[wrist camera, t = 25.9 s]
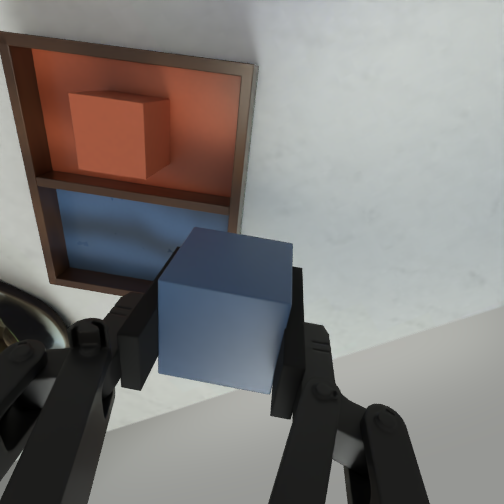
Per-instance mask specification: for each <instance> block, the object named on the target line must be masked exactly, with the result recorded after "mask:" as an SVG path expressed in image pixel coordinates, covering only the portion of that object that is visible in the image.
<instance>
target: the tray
mask: <svg viewBox="0 0 504 504" xmlns="http://www.w3.org/2000/svg"><path fill="white" fill-rule="evenodd" d="M0 55H1V59H2V64H3V69H4V73H5V78H6V83H7V87H8V92H9V97H10V101H11V106H12V110H13V115H14V120H15V124H16V129H17V134H18V138H19V143H20V148H21V152H22V157H23V161H24V166H25V171H26V175H27V180H28V185H29V189H30V194H31V199H32V203H33V208H34V213H35V217H36V222H37V226H38V231H39V236H40V240H41V245H42V250H43V254H44V259H45V264H46V268H47V273H48V277H49V282H50V284H55V285H61V286H66V287H72V288H78V289H84V290H90V291H96V292H101V293H107V294H113V295H119V296H124V295H126V294H128V293H129V292H136V293H142V294H145V292H146V291H147V289H148V288H149V286H150V285H151V283H152V282H153V281H154V279H155V278H156V276H157V275H158V273H159V272H160V271H161V269H162V268H163V266H164V265H165V263H166V262H167V261H168V259H169V258H170V256H171V255H172V253H173V252H174V251H175V249H176V248H177V246H178V247H181V246H182V244H183V243H184V241H185V240H186V238H187V237H188V235H189V234H190V232H191V231H192V229H193V228H194V227H200V228H206V229H212V230H218V231H223V232H229V233H235V234H240V233H241V223H242V214H243V205H244V196H245V187H246V178H247V169H248V160H249V151H250V141H251V132H252V123H253V114H254V105H255V96H256V87H257V78H258V69H259V66H257V65H254V64H249V63H241V62H233V61H226V60H218V59H210V58H203V57H195V56H188V55H180V54H172V53H165V52H157V51H149V50H142V49H134V48H126V47H119V46H111V45H103V44H96V43H88V42H81V41H73V40H65V39H58V38H50V37H42V36H35V35H27V34H19V33H12V32H4V31H0ZM105 90H109V91H116V92H123V93H131V94H138V95H145V96H152V97H160V98H167V99H170V164H169V165H167V166H166V167H164V168H163V169H161V170H160V171H158V172H157V173H155V174H154V175H152V176H151V177H149V178H148V179H146V180H145V179H139V178H132V177H125V176H119V175H112V174H106V173H99V172H93V171H86V170H80V169H79V167H78V160H77V153H76V146H75V138H74V131H73V124H72V116H71V109H70V102H69V95H68V93H69V92H87V91H105Z"/></svg>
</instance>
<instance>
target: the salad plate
mask: <svg viewBox="0 0 504 504" xmlns="http://www.w3.org/2000/svg"><path fill="white" fill-rule="evenodd" d="M28 339H29V340H38V341H40V342H42V343H43V344H44V346H45V349H46V350H47V349H62V348H69V347H70V346H69V340H68V335H67V327H66V325H65V323H64V322H63V320H62V319H61V318H60V316H59V315H58V314H57V313H56V312H55V311H54V310H53V309H52V308H51V307H49V306H48V305H47V304H45V303H44V302H42V301H40V300H38V299H36V298H34V297H32V296H31V295H29V294H27V293H25V292H23V291H21V290H19V289H17V288H15V287H13V286H11V285H9V284H6V283H4V282H1V281H0V353H1V352H2V351H3V350H4V349H6V348H7V347H8V346H10V345H11V344H14V343H16V342H18V341H23V340H28Z"/></svg>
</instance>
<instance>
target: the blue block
mask: <svg viewBox="0 0 504 504" xmlns="http://www.w3.org/2000/svg"><path fill="white" fill-rule="evenodd" d="M292 262H293V244H292V243H287V242H281V241H275V240H270V239H264V238H258V237H252V236H246V235H241V234H235V233H229V232H223V231H218V230H212V229H206V228H200V227H194V228H193V229H192V231H191V232H190V234H189V235H188V237H187V238H186V240H185V241H184V243H183V244H182V246H181V247H180V248H179V250H178V251H177V253H176V254H175V256H174V257H173V259H172V260H171V262H170V263H169V265H168V266H167V267H166V269H165V270H164V272H163V273H162V275H161V276H160V278H159V279H158V373H160V374H165V375H170V376H175V377H180V378H185V379H191V380H196V381H201V382H206V383H211V384H217V385H222V386H227V387H232V388H237V389H243V390H248V391H254V392H258V393H263V394H270V393H271V388H272V384H273V376H274V372H275V368H276V364H277V359H278V355H279V351H280V347H281V343H282V338H283V334H284V330H285V329H286V327H287V322H288V318H289V314H290V310H291V306H292Z"/></svg>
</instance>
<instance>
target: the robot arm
mask: <svg viewBox="0 0 504 504" xmlns="http://www.w3.org/2000/svg"><path fill="white" fill-rule="evenodd" d="M179 248H180V247H178V246H177V248H176V249H175V251H174V252H173V253H172V255H171V256H170V258H169V259H168V261H167V262H166V263H165V265H164V266H163V268H162V269H161V271H160V272H159V273H158V275H157V276H156V278H155V279H154V281H153V282H152V283H151V285H150V286H149V288H148V289H147V291H146V292H145V294H142V293H136V292H129V293H128V294H126V295H124V296H123V297H121V298H120V299H119V301H118V302H117V303H116V304H115V307H113V308H112V309H111V311H110V313H108V314H107V316H106V317H105V318H104V319H103V320H101V319H97V318H88V319H83V320H80V321H77V322H76V323H74V324H73V325H71V326H70V327H69V328H68V330H67V335H68V340H69V346H70V347H69V348H62V349H47V350H46V349H45V346H44V344H43V343H42V342H40V341H38V340H29V339H28V340H23V341H18V342H16V343H14V344H11V345H10V346H8V347H7V348H6V349H4V350H3V351H2V352H1V353H0V481H1V479H2V478H3V477H4V475H5V474H6V473H7V471H8V470H9V468H10V467H11V466H12V464H13V463H14V462H15V460H16V459H17V457H18V456H19V455H20V453H21V452H22V450H23V449H24V450H23V452H22V454H21V456H20V458H19V460H18V463H17V465H16V467H15V469H14V471H13V474H12V476H11V478H10V480H9V482H8V484H7V487H6V489H5V491H4V493H3V495H2V498H1V500H0V504H87V503H88V500H89V496H90V492H91V488H92V484H93V480H94V476H95V472H96V468H97V465H98V461H99V457H100V453H101V449H102V445H103V441H104V437H105V433H106V430H107V426H108V422H109V418H110V414H111V410H112V406H113V403H114V399H115V386H116V384H117V383H118V381H119V379H120V378H121V387H123V388H129V389H134V390H139V391H141V389H142V387H143V385H144V383H145V381H146V379H147V377H148V375H149V373H150V371H151V369H152V367H153V365H154V363H155V361H156V359H157V357H158V279H159V278H160V276H161V275H162V273H163V272H164V270H165V269H166V267H167V266H168V265H169V263H170V262H171V260H172V259H173V257H174V256H175V254H176V253H177V251H178V250H179ZM292 413H293V423H292V426H291V429H290V433H289V436H288V439H287V442H286V446H285V449H284V452H283V456H282V459H281V462H280V466H279V469H278V472H277V476H276V479H275V483H274V486H273V489H272V493H271V496H270V499H269V503H268V504H325V500H326V494H327V488H328V482H329V476H330V470H331V464H332V459H333V460H335V461H337V462H339V463H340V464H342V465H344V474H345V483H346V492H347V501H348V504H430V503H429V500H428V496H427V494H426V490H425V487H424V483H423V480H422V477H421V474H420V470H419V467H418V464H417V460H416V457H415V454H414V451H413V447H412V444H411V441H410V437H409V435H408V431H407V428H406V425H405V423H404V421H403V419H402V418H401V417H400V415H399V414H398V413H397V412H396V411H394V410H393V409H391V408H390V407H388V406H385V405H382V404H372V405H370V406H368V408H367V409H366V408H364V407H362V406H360V405H358V404H355V403H353V402H352V401H350V400H348V399H347V398H346V397H344V396H343V395H342V394H341V392H340V390H339V388H338V386H336V383H335V378H334V370H333V363H332V355H331V347H330V340H329V334H328V332H327V331H326V329H325V328H324V326H323V325H317V324H312V323H306V322H304V305H303V276H302V268H298V267H293V266H292V306H291V310H290V314H289V318H288V322H287V327H286V329H285V330H284V334H283V338H282V343H281V347H280V351H279V355H278V359H277V364H276V368H275V372H274V376H273V387H272V400H271V414H270V416H274V417H279V418H284V419H291V416H292Z"/></svg>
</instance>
